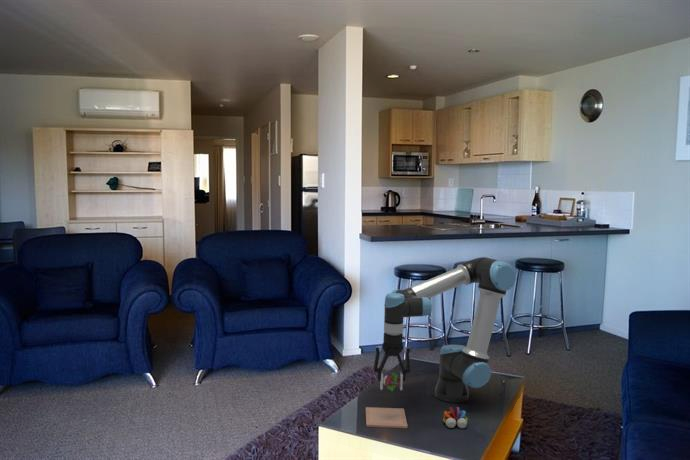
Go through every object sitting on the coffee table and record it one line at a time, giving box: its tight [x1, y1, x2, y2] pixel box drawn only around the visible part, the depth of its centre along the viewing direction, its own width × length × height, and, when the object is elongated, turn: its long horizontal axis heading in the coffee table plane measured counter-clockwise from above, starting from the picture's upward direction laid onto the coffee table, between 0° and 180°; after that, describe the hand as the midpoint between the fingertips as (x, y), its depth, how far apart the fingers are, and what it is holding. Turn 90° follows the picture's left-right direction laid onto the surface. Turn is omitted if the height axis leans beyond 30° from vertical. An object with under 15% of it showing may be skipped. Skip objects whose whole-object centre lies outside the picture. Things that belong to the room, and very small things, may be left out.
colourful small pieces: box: [442, 406, 469, 429], centre depth 211 cm, size 8×10×7 cm
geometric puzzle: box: [383, 371, 403, 393], centre depth 212 cm, size 7×7×8 cm
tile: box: [365, 406, 409, 429], centre depth 215 cm, size 16×16×1 cm
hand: (391, 388), depth 213 cm, fingers closed on geometric puzzle, 7 cm apart
